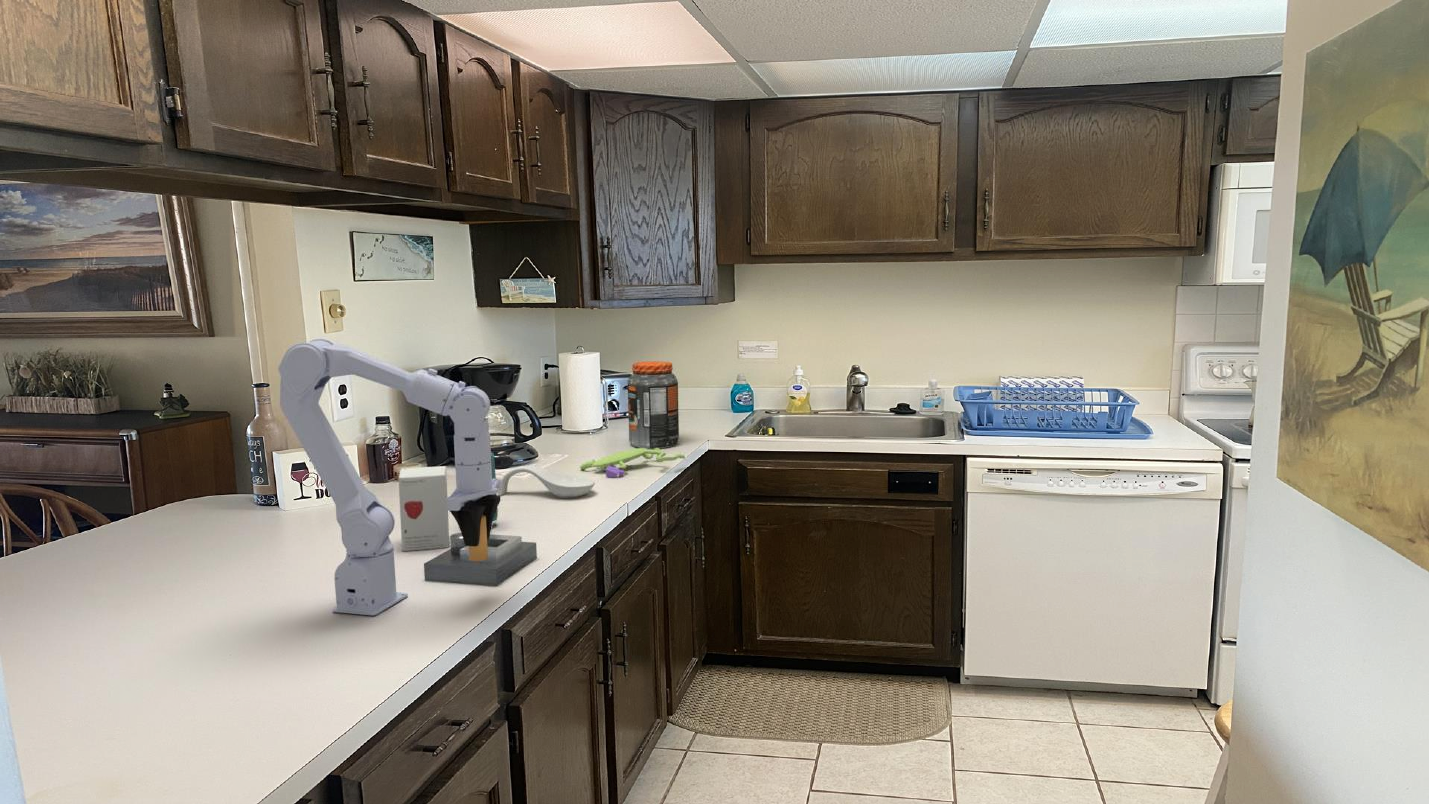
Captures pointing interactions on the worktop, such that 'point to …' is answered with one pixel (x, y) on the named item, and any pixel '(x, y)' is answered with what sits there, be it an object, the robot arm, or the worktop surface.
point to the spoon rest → (553, 482)
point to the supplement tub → (653, 405)
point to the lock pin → (480, 544)
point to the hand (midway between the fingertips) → (477, 542)
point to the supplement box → (423, 508)
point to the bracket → (496, 548)
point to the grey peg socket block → (476, 565)
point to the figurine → (626, 460)
